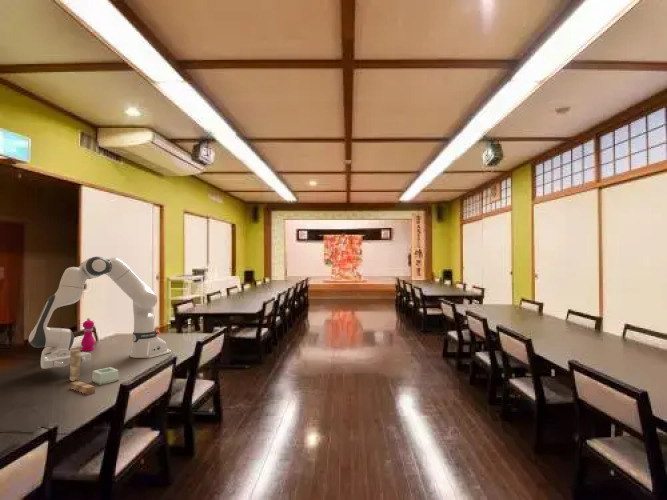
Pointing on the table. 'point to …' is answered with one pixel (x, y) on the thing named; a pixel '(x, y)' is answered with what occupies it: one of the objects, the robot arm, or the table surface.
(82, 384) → the tan wooden bar
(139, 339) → the robot arm
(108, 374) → the pale green hollow block
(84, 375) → the table surface
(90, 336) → the pepper mill
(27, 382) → the table surface
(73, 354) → the tan wooden block
